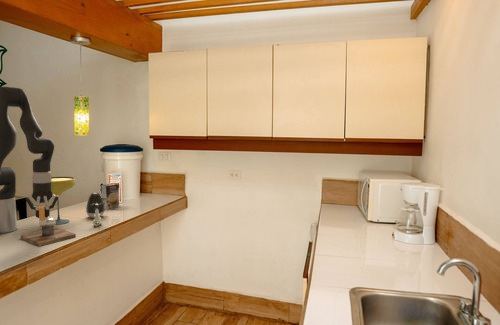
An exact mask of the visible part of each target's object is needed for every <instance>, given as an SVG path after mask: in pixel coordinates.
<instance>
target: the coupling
mask: <svg viewBox="0 0 500 325" xmlns="http://www.w3.org/2000/svg"><path fill="white" fill-rule="evenodd" d="M38 220H39V227H40V228H42V227H50V226H54V227H55V226H57V225H56V221H55V220H56V217H54V216H51V215H49V216H48V218H46V205H44V206H43V205H42V206H39V218H38Z"/></svg>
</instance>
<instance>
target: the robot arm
mask: <svg viewBox="0 0 500 325" xmlns="http://www.w3.org/2000/svg"><path fill="white" fill-rule="evenodd" d="M10 107H11V108H12V107H13V108H15V107H16V108H19V109H20V110H21V115H20V119H19V125H20V126H19V127H20V129H21V131H22V132H23V133H24V135H25V139H26V140H25V141H26V144H27V150H28V151H29V152H30V153H31V154H34V155H38V154H39V155H40V154H41V157H38V158H36V159H35V158H34V159H33V161H32V178H31V179H32V193H31V195H30V196H26V197H25V201H26V203H27V205H28V206H29V207H30V209H31V210H35V218H37V219H39V207H40V204H42V203H44V204H45V205H44V206H46V218H48V216H49V215H50V214H51V213H50V212H51V211H50V210H51V209H54V207H55V206H56V203H57V199H58V200H59V197H58V196H55V195H54V194H53V193H52V190H51V180H52V179H51V177H52V173H51V161H52V158H53V155H54V151H55V143H54V141H53V140H52V138H49V137H48V138H45V137H44V138H43V137H42V136H43V131H42V128H41V127H40V125H39V123H38V122H37V120H36V118H35V116H34V113H33V109H32V106H31V104H30V101H29V98H28V95H27V93H26V91H24V89H22V88H20V87H14V86H13V87H10V86H0V186H3V187H2V188H1V189H0V234H4V233H5V234H6V233H10V232H11V233H12V232H14V231H16V230H18V225H17V224H18V223H17V222H18V221H17V204H16V191H17V188H16V187H17V183H16V181H17V178H16V175H17V174H16V171H15V169H14V168H13V167H11V166H4V167H2V165H3V163H4V162H5V159H6V158H7V157H8V156H9V155H10V153H11V152H12V151H13V150H14V148H15V147H16V144H17V136H18V132H17V129H16V128H15V126H14V124H13V123H12V120H10V117H9V113H8V111H9V108H10ZM41 137H42V138H41ZM51 198H52V200H53V201H52V203H51V205H50V200H51ZM33 200H34V201H35V202H36V203H35V205H34V203H33ZM50 216H51V215H50Z"/></svg>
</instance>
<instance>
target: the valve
mask: <svg viewBox="0 0 500 325" xmlns="http://www.w3.org/2000/svg"><path fill="white" fill-rule="evenodd" d="M101 205H102V206H103V203H92V204H90V206H91V207H94V208H95V209H96V210H95V213H96V214H95V215H94V217H95V218H93V223H92V224H93V226H95V227H98V226H100V225H101V223H102V217H100V214H99V210H98V208H99V207H101Z"/></svg>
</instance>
